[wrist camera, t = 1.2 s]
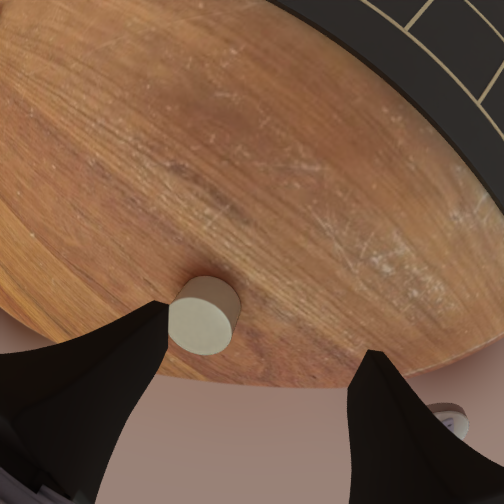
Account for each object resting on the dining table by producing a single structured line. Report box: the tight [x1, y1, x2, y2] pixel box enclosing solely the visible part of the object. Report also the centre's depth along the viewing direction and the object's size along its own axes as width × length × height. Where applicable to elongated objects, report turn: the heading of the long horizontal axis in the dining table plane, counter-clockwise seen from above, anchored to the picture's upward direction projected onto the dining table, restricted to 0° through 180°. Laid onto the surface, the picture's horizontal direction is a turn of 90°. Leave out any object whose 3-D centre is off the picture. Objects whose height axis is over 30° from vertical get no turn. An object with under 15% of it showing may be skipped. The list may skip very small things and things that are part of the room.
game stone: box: [168, 276, 241, 355], centre depth 20 cm, size 4×4×3 cm
